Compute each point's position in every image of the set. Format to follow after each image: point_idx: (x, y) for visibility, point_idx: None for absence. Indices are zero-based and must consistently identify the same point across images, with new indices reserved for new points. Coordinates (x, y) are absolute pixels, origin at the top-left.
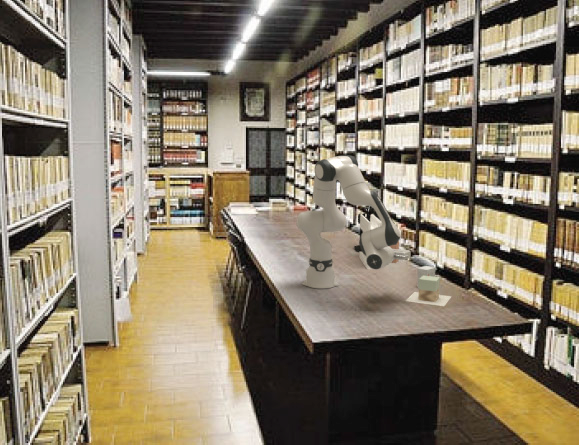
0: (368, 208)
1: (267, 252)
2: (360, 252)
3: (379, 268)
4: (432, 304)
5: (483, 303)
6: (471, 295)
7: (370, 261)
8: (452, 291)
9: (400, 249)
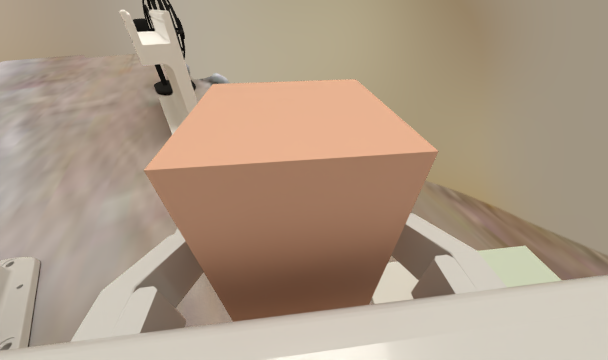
0: (151, 9)
1: None
2: (160, 99)
3: None
4: None
5: (597, 266)
6: (487, 210)
7: None
8: (427, 202)
9: (583, 321)
